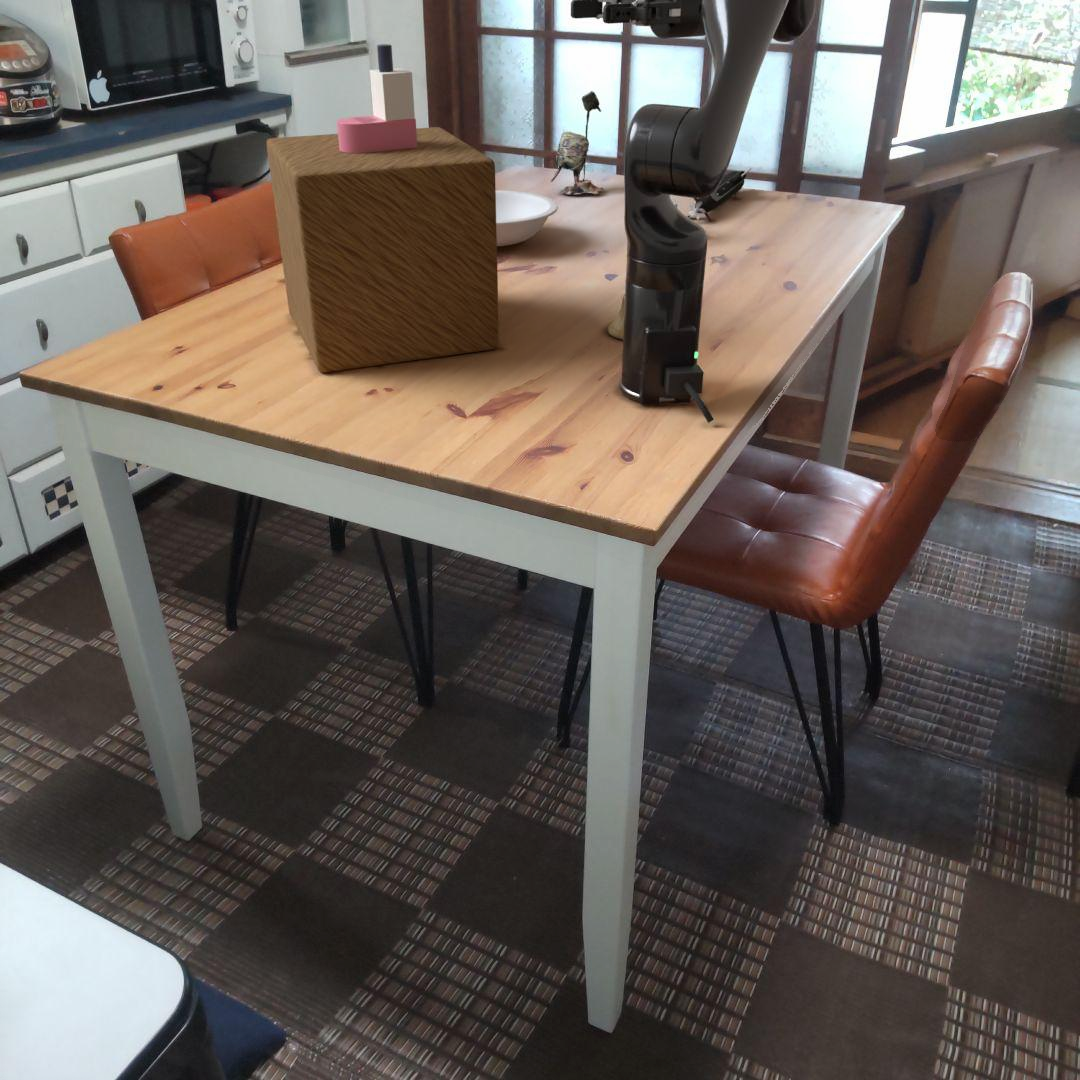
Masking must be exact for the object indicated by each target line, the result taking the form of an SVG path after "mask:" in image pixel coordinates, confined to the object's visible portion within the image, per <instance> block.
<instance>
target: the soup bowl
mask: <svg viewBox="0 0 1080 1080" xmlns="http://www.w3.org/2000/svg"><path fill="white" fill-rule="evenodd" d="M558 208H559V206H558V203H557V202H556V201H555V200H554V199H552V198H550V197H548V196H544V195H541V194H537V193H533V192H528V191H519V190H508V189H507V190H505V189H496V231H497V247H505V246H511V245H516V244H519V243H522V242H524V241H527V240H529V239H531V238H532V237H534V236H535V235H536V234H537V233H538V232H539V231H540V230H541V229H542V228H543V226H544V225H545V224H546V222H547V220H548V219H549V217H551V216H553V215H554V214H555V213H557V212H558V210H559V209H558Z"/></svg>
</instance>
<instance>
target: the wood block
mask: <svg viewBox="0 0 1080 1080" xmlns="http://www.w3.org/2000/svg"><path fill="white" fill-rule="evenodd" d="M416 132H417V148H409V149H399V150H389V151H379V152H369V153H346V152H342V151H340V149H339V139H338V133H329V134H328V133H327V134H314V135H313V134H312V135H299V136H283V137H282V136H281V137H271V138H268V139H267V140H266V152H267V159H268V165H269V166H268V167H269V174H270V180H271V188H272V196H273V203H274V210H275V217H276V225H277V232H278V239H279V248H280V254H281V261H282V269H283V276H284V284H285V291H286V298H287V305H288V306H287V307H288V312H289V315H290V316H291V318H292V320H293V322H294V325H295V326H296V329H297V331H298V333H299V334H300V337H301V338H302V341H303V343H304V345H305V347H306V350H307V351H308V353H309V355H310V357H311V359H312V360H313V363H314V365H315V367H316V369H317V371H318V372H320V373H331V372H339V371H346V370H352V369H360V368H368V367H374V366H380V365H389V364H395V363H396V364H397V363H402V362H411V361H419V360H426V359H433V358H441V357H445V356H446V357H448V356H455V355H462V354H463V355H464V354H468V353H469V354H470V353H477V352H482V351H483V352H484V351H492V350H496V349H498V348H499V346H500V324H499V323H500V321H499V318H500V317H499V281H498V280H499V279H498V278H499V277H498V246H497V231H496V190H497V189H496V164H495V161H494V159H492V158H491V157H489V156H487V155H486V154H485V153H482V152H481V151H479V150H478V149H476V148H475V147H473V146H471V145H470V144H469V143H466V142H464V141H463V140H461V139H459V138H458V137H456V135H453V134H451V133H449V131H447V130H445V129H444V128H441V127H439V126H434V127H433V126H432V127H420V128H419V127H418V128H417V127H416Z"/></svg>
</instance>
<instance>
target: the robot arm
mask: <svg viewBox="0 0 1080 1080" xmlns="http://www.w3.org/2000/svg"><path fill="white" fill-rule="evenodd" d="M815 12H816V0H571V2H570V17H571V18H572V19H596V20H600V19H602V22H603V23H604V24H607V25H608V24H609V25H610V24H628V23H629V24H631V25H633V26H635V27H649V28H650V30H651V32H652V33H653V34H654V35H655V36H656V38H659V39H680V38H694V37H695V38H697V37H705V36H706V41H707V44H708V47H709V52H710V55H711V60H712V64H713V78H712V79H713V80H712V84H711V87H710V90H709V94H708V95H707V98H706V100H705V102H704V104H703V105H702V106H700V107H694V106H683V105H674V104H662V103H649V104H645V105H643V106H641V107H640V108H639V109H637V111H636V112H635V113H634V115H633V116H632V118H631V120H630V122H629V126H628V129H627V132H626V138H625V145H624V155H623V157H624V159H623V163H624V164H623V177H624V179H623V181H624V182H623V183H624V188H623V189H624V190H623V191H624V212H623V213H624V216H623V217H624V219H623V221H624V223H623V224H624V232H625V235H626V240H627V244H626V245H627V247H626V248H627V249H626V269H625V287H624V294H625V308H624V330H623V340H622V354H621V355H622V356H621V378H620V382H619V383H620V384H619V385H620V386H619V389H620V390H619V391H620V392H621V393H622V395H624V396H625V397H626V398H628V399H631V400H633V401H635V402H638V403H639V404H640V405H641V406H645V407H646V406H659V405H660V406H661V405H678V404H680V405H681V404H690V403H691V402H692V400H693V402H695V404H696V405H697V407H698V408H699V410H700V412H701V413H702V415H703V417H704V418H705V420H706V422H707V423H708V424H709V423H710V422H713V421H715V418H714V417H713V415H712V413H711V412H710V410H709V408H708V407H707V405H706V404H705V402H704V400H703V399H702V398H701V397H700V394H703V384H704V375H705V373H704V371H703V369H702V367H701V366H700V364H698V357H699V342H700V332H701V331H700V330H701V320H702V319H701V318H702V309H703V308H702V306H703V294H704V284H705V283H704V282H705V273H706V264H707V263H706V262H707V252H708V238H709V237H708V233H707V230H706V229H705V228H704V227H703V226H701V224H699V223H698V222H696V221H694V220H693V219H691V218H690V217H688V216H687V215H686V214H684V213H683V212H682V211H681V210H680V209H679V208H678V206H677V207H676V206H675V205H674V203H673V202H672V200H671V199H672V198H671V196H676V197H683V198H691V199H694V198H706V197H708V196H710V195H711V194H712V193H714V192H715V191H716V189H717V188H718V186H719V185H720V183H721V181H722V179H723V177H724V176H725V175H726V173H727V171H728V168H729V166H730V163H731V160H732V156H733V153H734V151H735V147H736V145H737V142H738V138H739V135H740V134H739V133H740V131H741V127H742V125H743V123H744V122H743V121H744V119H745V115H746V111H747V108H748V105H749V102H750V98H751V96H752V93H753V89H754V87H755V83H756V80H757V78H758V75H759V72H760V70H761V67H762V65H763V62H764V60H765V58H766V55H767V52H768V50H769V48H770V45H771V42H772V40H774V41H776V42H778V43H789V42H790V43H791V42H793V41H795V40H797V39H798V38H799V39H800V38H801V36H802V35H803V34H805V33H806V31H807V30H808V29H809V27H810V25H811V24H812V22H813V19H814V16H815Z"/></svg>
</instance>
